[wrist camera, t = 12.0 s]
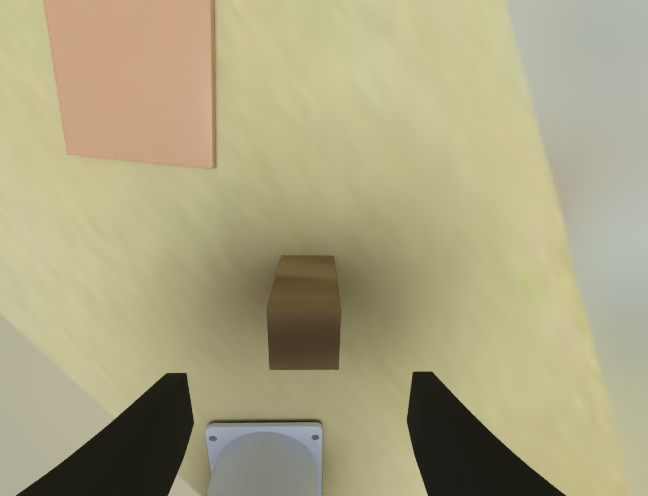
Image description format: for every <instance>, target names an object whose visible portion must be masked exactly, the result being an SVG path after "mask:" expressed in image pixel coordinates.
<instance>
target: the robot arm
mask: <svg viewBox="0 0 648 496" xmlns="http://www.w3.org/2000/svg"><path fill="white" fill-rule="evenodd" d="M407 424H408V429H409V433H410V438H411V442H412V447H413V451H414V455H415V458H416V461H417V464H418V467H419V470H420V473H421V476H422V479H423V482H424V485H425V488H426V491H427V494H428V496H566V495H564V494H563V493H562V492H560V491H559V490H558V489H557V488H555V487H554V486H553V485H551V484H550V483H549V482H548V481H547V480H545V479H544V478H543V477H542V476H540V475H539V474H538V473H537V472H535V471H534V470H533V469H532V468H530V467H529V466H528V465H527V464H526V463H524V462H523V461H522V460H521V459H520V458H519V457H517V456H516V455H515V454H514V453H513V452H512V451H511V450H510V449H509V448H507V447H506V446H505V445H504V444H503V443H502V442H501V441H500V440H499V439H498V438H496V437H495V436H494V435H493V434H492V433H491V432H490V431H489V430H488V429H487V428H486V427H485V426H484V425H483V424H482V423H481V422H480V421H479V420H478V419H477V418H476V417H475V416H474V415H473V414H472V413H471V412H470V411H469V410H468V409H467V408H466V407H465V406H464V405H463V404H462V403H461V402H460V401H459V400H458V399H457V398H456V397H455V396H454V394H453V393H452V392H451V391H450V390H449V389H448V388H447V387H446V386H445V385H444V384H443V383H442V382H441V381H440V380H439V379H438V378H437V376H436V375H435V374H434V373H433V372H413V376H412V384H411V392H410V399H409V407H408V415H407ZM193 425H194V419H193V413H192V406H191V400H190V394H189V387H188V381H187V374H186V373H167V374H165V375H164V376H163V377H162V378H161V379H160V380H158V381H157V382H156V383H155V384H154V385H153V386H152V387H151V388H150V389H148V390H147V391H146V392H145V393H144V394H143V395H142V396H141V397H139V398H138V399H137V400H136V401H135V402H134V403H133V404H132V405H131V406H129V407H128V408H127V409H126V410H125V411H124V412H123V413H121V414H120V415H119V416H118V417H117V418H116V419H115V420H113V421H112V422H111V423H110V424H109V425H108V426H107V427H105V428H104V429H103V430H102V431H100V432H99V433H98V434H97V435H95V436H94V437H93V438H92V439H91V440H89V441H88V442H87V443H86V444H84V445H83V446H82V447H81V448H79V449H78V450H77V451H76V452H75V453H73V454H72V455H71V456H70V457H68V458H67V459H66V460H64V461H63V462H62V463H60V464H59V465H58V466H57V467H55V468H54V469H52V470H51V471H50V472H48V473H47V474H46V475H44V476H43V477H42V478H40V479H39V480H38V481H36V482H34V483H33V484H32V485H30V486H29V487H28V488H26V489H25V490H23V491H22V492H20V493H19V494H17V495H16V496H168V494H169V492H170V489H171V487H172V485H173V482H174V480H175V477H176V475H177V473H178V470H179V468H180V465H181V463H182V461H183V458H184V455H185V452H186V449H187V445H188V442H189V439H190V435H191V432H192V428H193ZM205 435H206V442H207V449H208V456H209V463H210V470H211V480H210V484H209V487H208V490H207V494H206V496H321V495H322V425H321V424H320V423H317V422H284V423H212V424H209V425H208V426H207V427H206V430H205Z"/></svg>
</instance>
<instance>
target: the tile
mask: <svg viewBox="0 0 648 496" xmlns="http://www.w3.org/2000/svg"><path fill="white" fill-rule="evenodd" d="M43 2H44V9H45V15H46V22H47V28H48V35H49V41H50V47H51V54H52V60H53V67H54V73H55V79H56V86H57V92H58V99H59V105H60V112H61V118H62V124H63V131H64V137H65V144H66V150H67V155H76V156H87V157H97V158H108V159H118V160H128V161H139V162H149V163H160V164H170V165H180V166H191V167H201V168H212V169H213V168H215V167H216V128H215V21H214V0H43Z"/></svg>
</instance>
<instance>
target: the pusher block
mask: <svg viewBox="0 0 648 496" xmlns="http://www.w3.org/2000/svg"><path fill="white" fill-rule="evenodd" d="M340 321H341V306H340V299H339V291H338V284H337V277H336V270H335V263H334V256H281V258H280V262H279V266H278V269H277V273H276V277H275V281H274V284H273V288H272V292H271V295H270V299H269V303H268V306H267V324H268V345H269V366H270V370H339V348H340Z"/></svg>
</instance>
